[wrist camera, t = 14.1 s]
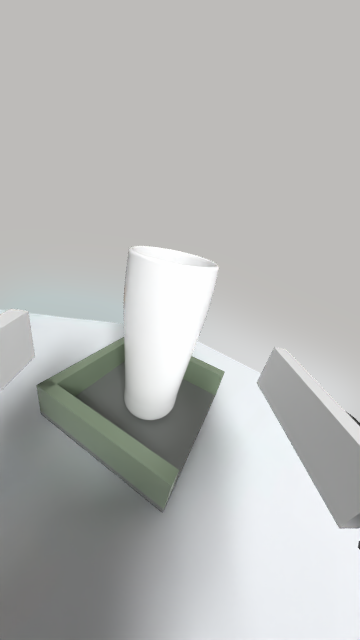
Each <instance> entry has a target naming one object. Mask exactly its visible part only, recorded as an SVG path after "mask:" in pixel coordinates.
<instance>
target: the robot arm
mask: <svg viewBox="0 0 360 640" xmlns="http://www.w3.org/2000/svg"><path fill="white" fill-rule="evenodd" d="M34 357H35V353H34V346H33V339H32V333H31V326H30V319H29V313H28V311H24V310H17V309H9V310H7V311H5V312H4V313H2V314H0V391H1V390H2V389H3V388H4V387H5V386H6V385H7V384H8V383H9V382H10V381H11V380H12V379H13V378H14V377H15V376H16V375H17V374H18V373H19V372H20V371H21V370H22V369H23V368H24V367H25V366H26V365H27V364H28V363H29V362H30V361H31V360H32V359H33V358H34ZM257 384H258V386H259V388H260V389H261V391H262V393H263V395H264V396H265V398H266V400H267V402H268V403H269V405H270V407H271V409H272V411H273V412H274V414H275V416H276V418H277V419H278V421H279V423H280V425H281V426H282V428H283V430H284V432H285V433H286V435H287V437H288V439H289V441H290V442H291V444H292V446H293V448H294V449H295V451H296V453H297V455H298V456H299V458H300V460H301V462H302V463H303V465H304V467H305V469H306V471H307V472H308V474H309V476H310V478H311V479H312V481H313V483H314V485H315V486H316V488H317V490H318V492H319V493H320V495H321V497H322V499H323V501H324V502H325V504H326V506H327V508H328V509H329V511H330V513H331V515H332V516H333V518H334V520H335V522H336V523H337V525H338V527H339V528H360V423H359V422H358V421H357V420H356V419H355V418H354V417H353V416H351V415H350V414H349V413H347V412H346V411H344V409H343V408H342V407H341V406H340V405H339V404H338V403H337V402H336V401H335V400H334V399H333V398H332V397H331V396H330V395H329V394H328V393H327V392H326V391H325V389H324V388H323V387H322V386H321V385H320V384H319V383H318V382H317V381H316V380H315V379H314V378H313V377H312V376H311V375H310V374H309V373H308V372H307V371H306V369H305V368H303V366H302V365H301V364H300V363H299V362H298V361H297V360H296V359H295V358H294V357H293V356H292V355H291V354H290V353H289V352H288V351H287V350H286V349H282V348H275V347H274V349H273V351H272V353H271V355H270V357H269V359H268V361H267V363H266V365H265V367H264V369H263V371H262V373H261V375H260V377H259V379H258V381H257ZM358 548H359V549H360V541H359V545H358Z"/></svg>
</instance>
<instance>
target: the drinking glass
mask: <svg viewBox="0 0 360 640" xmlns="http://www.w3.org/2000/svg"><path fill="white" fill-rule="evenodd" d="M218 271H219V266H218V264H216V263H215V262H213V261H211V260H208V259H205V258H203V257H199V256H196V255H192V254H189V253H184V252H180V251H175V250H170V249H164V248H158V247H150V246H133V247H130V248H129V251H128V260H127V267H126V277H125V288H124V350H125V390H124V402H125V405H126V407H127V409H128V410H129V411H130V413H131V414H133V415H134V416H136V417H138V418H140V419H143V420H157V419H160V418H162V417H164V416H166V415H167V414H168V413H169V412H170V411H171V410H172V408H173V407H174V404H175V401H176V397H177V394H178V391H179V388H180V385H181V382H182V380H183V377H184V375H185V372H186V369H187V367H188V364H189V361H190V359H191V356H192V354H193V351H194V349H195V346H196V343H197V341H198V338H199V336H200V333H201V330H202V328H203V325H204V322H205V319H206V317H207V313H208V310H209V307H210V304H211V300H212V296H213V292H214V288H215V284H216V280H217V275H218Z"/></svg>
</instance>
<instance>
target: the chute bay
mask: <svg viewBox="0 0 360 640" xmlns="http://www.w3.org/2000/svg"><path fill="white" fill-rule="evenodd" d="M223 375H224V371H222V370H220V369H218V368H216V367H214V366H211V365H209V364H207V363H205V362H203V361H201V360H199V359H197V358H194V357H192V356H191V359H190V361H189V364H188V367H187V369H186V372H185V375H184V377H183V380H182V382H181V385H180V388H179V391H178V394H177V397H176V401H175V404H174V407H173V408H172V410H171V411H170V412H169V413H168V414H167V415H166V416H164V417H162V418H160V419H157V420H143V419H140V418H138V417H136V416H134V415H133V414H131V413H130V411H129V410H128V409H127V407H126V405H125V402H124V390H125V350H124V337H123V338H121V339H119V340H117V341H116V342H114V343H112V344H110V345H108V346H107V347H105V348H103V349H101V350H99V351H98V352H96V353H94V354H92V355H90V356H89V357H87V358H85V359H83V360H81V361H80V362H78V363H76V364H74V365H72V366H70V367H69V368H67V369H65V370H63V371H61V372H60V373H58V374H56V375H54V376H52V377H51V378H49V379H47V380H45V381H43V382H42V383H40V384H38V385H37V392H38V398H39V404H40V411H41V414H42V415H43V416H44V417H45V418H47V419H48V420H49V421H50V422H52V423H53V424H54V425H55V426H57V427H58V428H59V429H60V430H61V431H63V432H64V433H65V434H66V435H68V436H69V437H70V438H71V439H73V440H74V441H75V442H76V443H77V444H79V445H80V446H81V447H82V448H84V449H85V450H86V451H87V452H88V453H90V454H91V455H92V456H93V457H95V458H96V459H97V460H98V461H100V462H101V463H102V464H103V465H104V466H106V467H107V468H108V469H109V470H111V471H112V472H113V473H114V474H116V475H117V476H118V477H119V478H120V479H122V480H123V481H124V482H125V483H127V484H128V485H129V486H130V487H132V488H133V489H134V490H135V491H136V492H138V493H139V494H140V495H141V496H143V497H144V498H145V499H146V500H147V501H149V502H150V503H151V504H152V505H154V506H155V507H156V508H157V509H159V510H160V511H161V512H163V510H164V508H165V506H166V504H167V501H168V499H169V497H170V495H171V492H172V490H173V488H174V486H175V484H176V481H177V479H178V477H179V475H180V473H181V470H182V468H183V466H184V464H185V461H186V459H187V457H188V455H189V453H190V450H191V448H192V446H193V444H194V442H195V439H196V437H197V435H198V433H199V430H200V428H201V426H202V424H203V422H204V419H205V417H206V415H207V413H208V410H209V408H210V406H211V404H212V402H213V399H214V397H215V395H216V393H217V390H218V388H219V385H220V383H221V380H222V377H223Z"/></svg>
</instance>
